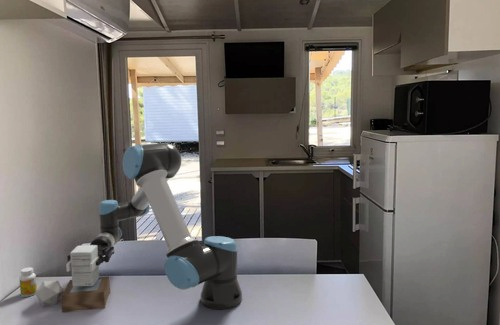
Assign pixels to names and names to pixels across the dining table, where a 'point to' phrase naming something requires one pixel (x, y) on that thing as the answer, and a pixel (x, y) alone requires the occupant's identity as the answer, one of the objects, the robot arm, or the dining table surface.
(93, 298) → the walnut plinth
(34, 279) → the supplement bottle
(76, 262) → the supplement box
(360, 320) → the dining table surface
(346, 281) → the dining table surface
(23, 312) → the dining table surface
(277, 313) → the dining table surface
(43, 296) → the die
